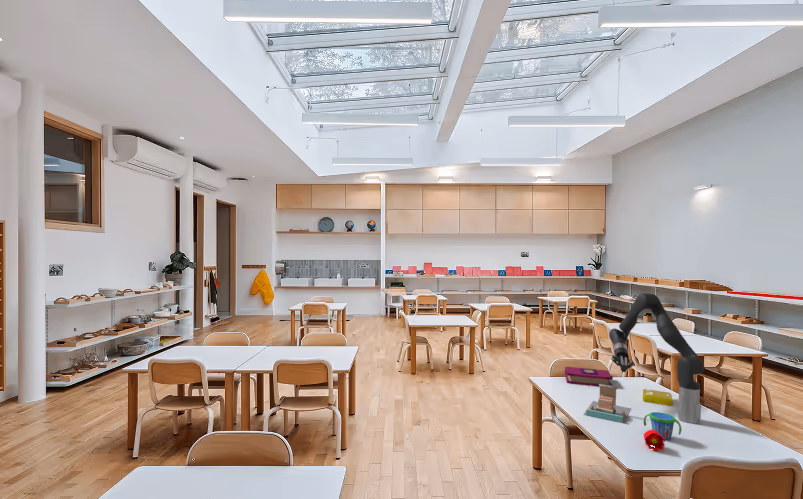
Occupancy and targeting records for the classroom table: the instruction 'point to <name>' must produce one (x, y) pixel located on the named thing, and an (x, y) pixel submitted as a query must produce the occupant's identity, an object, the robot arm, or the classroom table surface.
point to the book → (587, 376)
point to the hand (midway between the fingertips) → (624, 371)
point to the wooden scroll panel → (607, 399)
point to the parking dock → (618, 410)
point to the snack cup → (663, 424)
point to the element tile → (657, 397)
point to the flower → (654, 440)
